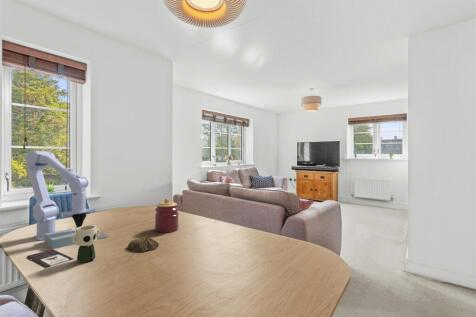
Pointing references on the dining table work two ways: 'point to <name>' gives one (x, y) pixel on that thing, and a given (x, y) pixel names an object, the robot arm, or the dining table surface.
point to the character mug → (86, 242)
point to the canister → (166, 216)
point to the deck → (59, 238)
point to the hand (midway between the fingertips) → (78, 229)
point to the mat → (102, 236)
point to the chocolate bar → (49, 258)
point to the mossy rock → (143, 244)
